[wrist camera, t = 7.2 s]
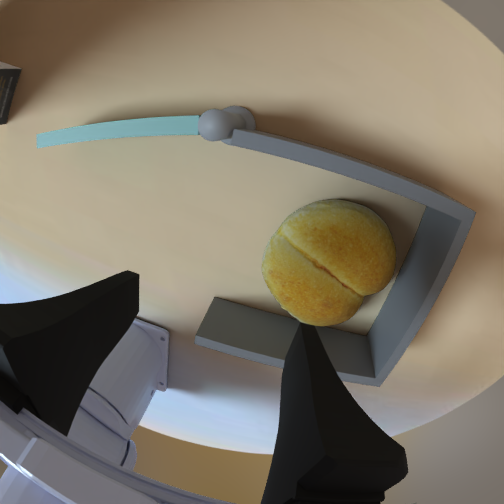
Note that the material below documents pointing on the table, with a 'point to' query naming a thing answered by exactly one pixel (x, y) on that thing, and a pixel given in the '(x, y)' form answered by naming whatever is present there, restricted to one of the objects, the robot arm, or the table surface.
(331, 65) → the table surface
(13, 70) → the cake mix box
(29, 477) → the robot arm
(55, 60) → the table surface
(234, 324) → the grey open box
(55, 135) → the teal flat bar
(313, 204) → the bread roll
